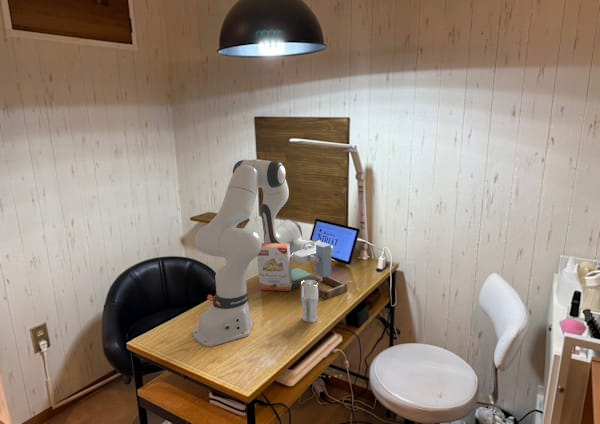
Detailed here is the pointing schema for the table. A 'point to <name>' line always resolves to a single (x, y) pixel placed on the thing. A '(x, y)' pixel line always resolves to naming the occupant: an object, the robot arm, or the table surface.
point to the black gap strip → (298, 283)
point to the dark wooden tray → (337, 290)
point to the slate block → (323, 259)
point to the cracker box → (274, 267)
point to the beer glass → (309, 300)
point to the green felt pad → (299, 274)
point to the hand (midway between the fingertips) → (325, 258)
